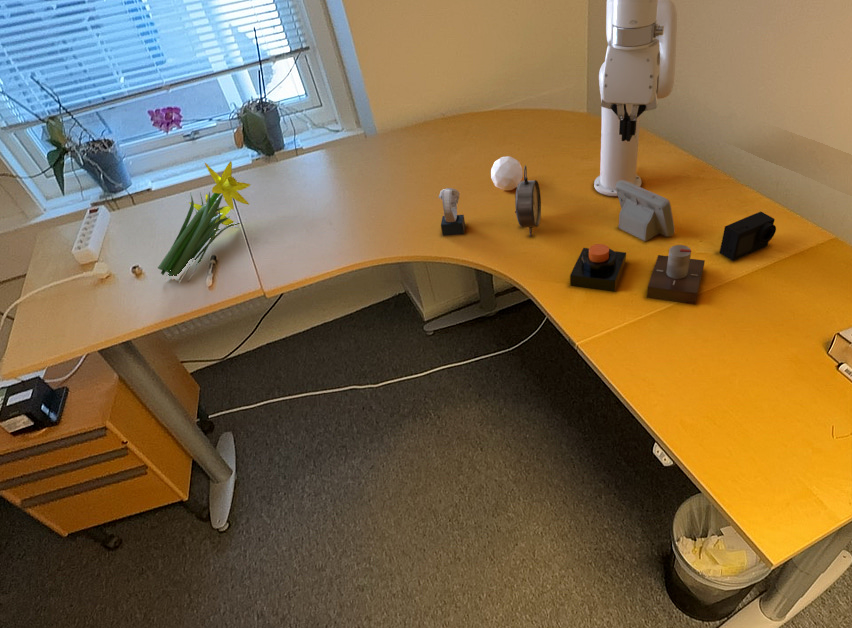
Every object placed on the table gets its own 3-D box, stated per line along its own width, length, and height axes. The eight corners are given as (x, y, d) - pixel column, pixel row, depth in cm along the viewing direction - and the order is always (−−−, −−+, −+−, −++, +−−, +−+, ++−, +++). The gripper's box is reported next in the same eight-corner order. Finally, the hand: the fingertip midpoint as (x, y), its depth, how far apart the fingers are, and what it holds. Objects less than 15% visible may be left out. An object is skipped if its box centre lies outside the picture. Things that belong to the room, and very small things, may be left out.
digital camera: (736, 264, 128) (742, 236, 122) (718, 253, 131) (724, 225, 126) (771, 248, 130) (779, 220, 125) (753, 238, 134) (760, 210, 129)
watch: (466, 221, 152) (459, 181, 144) (463, 238, 146) (456, 197, 138) (445, 222, 152) (437, 183, 144) (441, 239, 147) (433, 199, 139)
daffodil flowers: (145, 281, 149) (209, 184, 163) (202, 305, 153) (260, 208, 167) (130, 246, 134) (203, 143, 148) (194, 274, 138) (259, 170, 152)
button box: (583, 258, 135) (583, 239, 131) (625, 263, 132) (626, 244, 128) (570, 286, 128) (570, 267, 125) (614, 292, 125) (615, 273, 122)
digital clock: (678, 237, 137) (683, 196, 129) (646, 250, 135) (650, 208, 127) (637, 209, 147) (640, 169, 139) (607, 220, 145) (609, 180, 137)
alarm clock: (536, 239, 143) (532, 176, 131) (515, 239, 144) (509, 177, 132) (542, 216, 150) (539, 155, 138) (522, 216, 151) (517, 155, 139)
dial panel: (656, 266, 130) (658, 254, 128) (702, 271, 127) (705, 259, 125) (646, 298, 123) (647, 285, 120) (694, 304, 120) (697, 292, 117)
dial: (664, 277, 122) (668, 254, 118) (667, 266, 125) (670, 242, 120) (686, 280, 121) (690, 256, 116) (688, 268, 123) (692, 244, 119)
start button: (591, 250, 129) (591, 242, 127) (611, 253, 127) (611, 244, 126) (586, 261, 126) (586, 253, 125) (606, 264, 125) (606, 256, 123)
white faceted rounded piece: (532, 184, 158) (518, 172, 167) (518, 154, 152) (505, 143, 161) (505, 201, 159) (493, 188, 168) (490, 172, 153) (479, 159, 162)
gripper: (680, 27, 102) (668, 132, 115) (597, 27, 106) (595, 128, 120) (672, 41, 97) (661, 149, 110) (586, 41, 102) (585, 144, 115)
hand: (627, 138), depth 115 cm, fingers closed
